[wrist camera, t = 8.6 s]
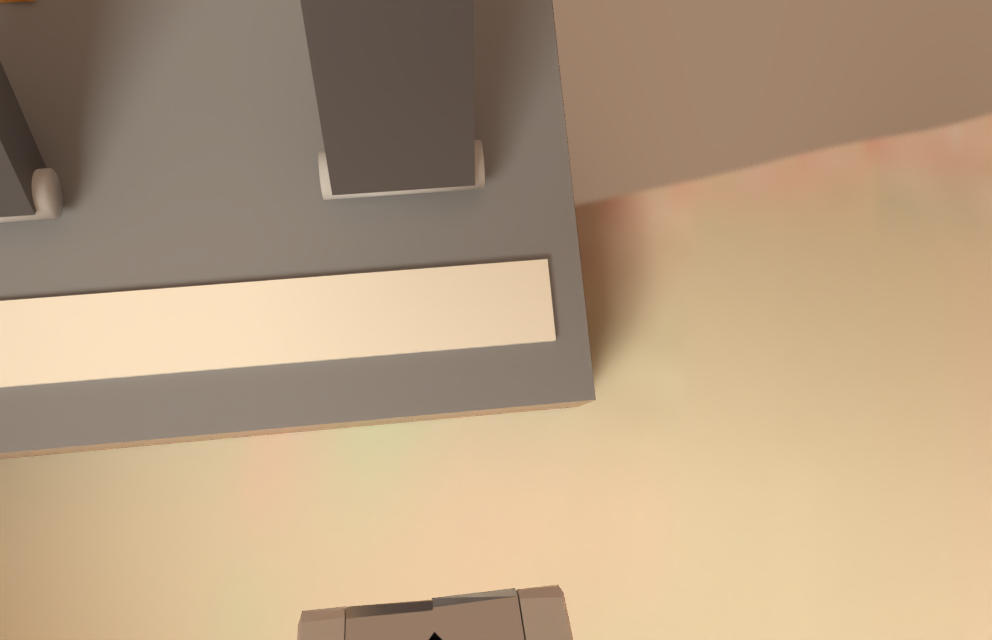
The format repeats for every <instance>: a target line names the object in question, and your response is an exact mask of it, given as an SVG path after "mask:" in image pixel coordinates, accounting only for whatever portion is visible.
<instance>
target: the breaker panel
mask: <svg viewBox="0 0 992 640" xmlns="http://www.w3.org/2000/svg"><path fill="white" fill-rule="evenodd" d="M473 45H474V136H475V140H481V142H482V147H483V155H484V169H485V187H484V189H474V190H460V191H446V192H432V193H417V194H403V195H389V196H374V197H360V198H346V199H331V200H323V196H322V192H321V185H320V177H319V164H318V153H319V150H325V148H324V142H323V136H322V130H321V124H320V118H319V112H318V105H317V99H316V93H315V87H314V81H313V75H312V69H311V63H310V57H309V51H308V45H307V39H306V32H305V26H304V20H303V14H302V8H301V2H300V0H0V61H1V64H2V66H3V68H4V71H5V73H6V75H7V77H8V80H9V82H10V84H11V87H12V89H13V91H14V94H15V96H16V98H17V101H18V103H19V105H20V108H21V110H22V112H23V115H24V117H25V119H26V122H27V124H28V126H29V129H30V131H31V133H32V136H33V138H34V140H35V142H36V145H37V147H38V149H39V152H40V154H41V156H42V159H43V161H44V163H45V166H46V168H51V169H53V170H54V171H55V172H56V174H57V176H58V178H59V180H60V183H61V187H62V192H63V211H62V214H61V216H60V217H59V218H58V219H46V220H31V221H17V222H3V223H0V459H2V458H13V457H25V456H36V455H47V454H58V453H69V452H80V451H91V450H102V449H113V448H124V447H135V446H146V445H157V444H169V443H180V442H191V441H202V440H213V439H224V438H235V437H246V436H257V435H268V434H279V433H290V432H302V431H313V430H324V429H335V428H346V427H357V426H368V425H379V424H390V423H401V422H412V421H423V420H435V419H446V418H457V417H468V416H479V415H490V414H501V413H512V412H523V411H534V410H545V409H556V408H568V407H578V406H581V405H583V404H586V403H589V402H591V401H594V400H596V398H595V389H594V380H593V371H592V362H591V352H590V343H589V334H588V325H587V316H586V306H585V297H584V288H583V279H582V270H581V261H580V251H579V242H578V233H577V224H576V215H575V206H574V197H573V188H572V178H571V169H570V160H569V151H568V141H567V132H566V124H565V114H564V105H563V97H562V87H561V77H560V69H559V59H558V50H557V41H556V31H555V23H554V13H553V4H552V0H473Z"/></svg>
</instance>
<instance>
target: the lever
mask: <svg viewBox="0 0 992 640" xmlns="http://www.w3.org/2000/svg"><path fill="white" fill-rule="evenodd" d="M62 211H63V192H62V187H61V183H60V180H59V178H58V176H57V174H56V172H55V171H54V170H53V169H51V168H46V166H45V163H44V161H43V159H42V156H41V154H40V152H39V149H38V147H37V145H36V142H35V140H34V138H33V136H32V133H31V131H30V129H29V126H28V124H27V122H26V119H25V117H24V115H23V112H22V110H21V108H20V105H19V103H18V101H17V98H16V96H15V94H14V91H13V89H12V87H11V84H10V82H9V80H8V77H7V75H6V73H5V71H4V68H3V66H2V64H1V61H0V223H3V222H17V221H31V220H46V219H58V218H59V217H60V216H61V214H62Z"/></svg>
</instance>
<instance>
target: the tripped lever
mask: <svg viewBox="0 0 992 640" xmlns="http://www.w3.org/2000/svg"><path fill="white" fill-rule="evenodd" d="M300 2H301V8H302V14H303V20H304V26H305V32H306V39H307V45H308V51H309V57H310V63H311V69H312V75H313V81H314V87H315V93H316V99H317V105H318V112H319V118H320V124H321V130H322V136H323V142H324V148H325V150H319V153H318V164H319V177H320V185H321V192H322V196H323V200H331V199H346V198H360V197H374V196H389V195H403V194H417V193H432V192H446V191H460V190H474V189H484V187H485V169H484V155H483V147H482V142H481V140H475V136H474V45H473V0H300Z"/></svg>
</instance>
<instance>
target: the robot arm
mask: <svg viewBox="0 0 992 640" xmlns="http://www.w3.org/2000/svg"><path fill="white" fill-rule="evenodd" d="M297 640H573V636H572V632H571V627H570V622H569V617H568V613H567V608H566V603H565V598H564V593H563V592H562V590H561V588H560V587H559V585H550V586H542V587H534V588H525V589H517V591H516V590H515V588H513V589H505V590H496V591H488V592H479V593H471V594H463V595H454V596H446V597H437V598H432V600H423V601H411V602H399V603H387V604H375V605H363V606H351V607H337V608H327V609H317V610H307V611H302V614H301V617H300V621H299V625H298V636H297Z"/></svg>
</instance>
